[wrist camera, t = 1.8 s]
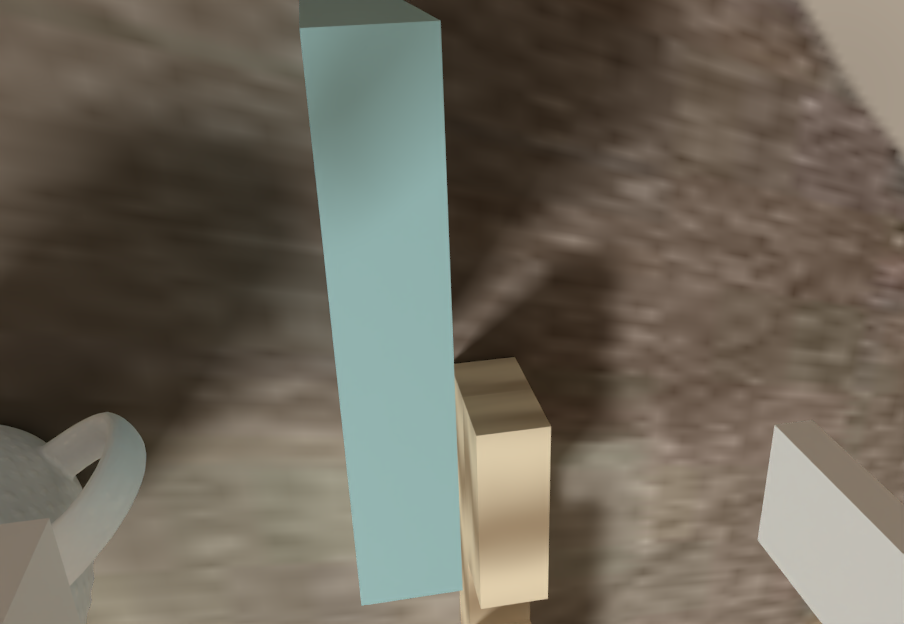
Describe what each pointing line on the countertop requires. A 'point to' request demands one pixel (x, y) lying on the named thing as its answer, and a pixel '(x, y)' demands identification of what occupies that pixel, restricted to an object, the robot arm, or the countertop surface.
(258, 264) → the countertop surface
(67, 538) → the mug
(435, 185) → the pale teal block
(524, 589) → the notched wooden beam
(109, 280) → the countertop surface
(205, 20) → the countertop surface
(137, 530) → the countertop surface
